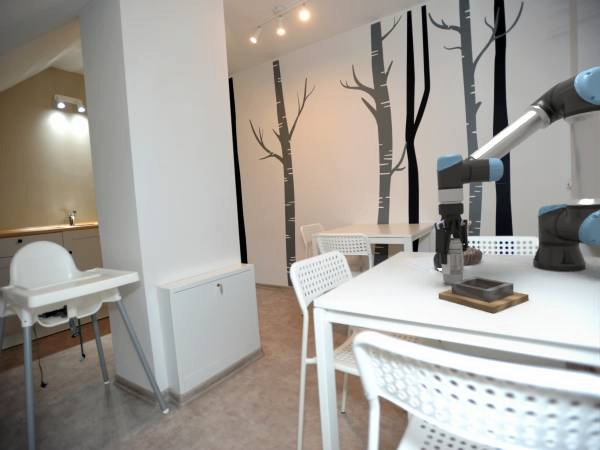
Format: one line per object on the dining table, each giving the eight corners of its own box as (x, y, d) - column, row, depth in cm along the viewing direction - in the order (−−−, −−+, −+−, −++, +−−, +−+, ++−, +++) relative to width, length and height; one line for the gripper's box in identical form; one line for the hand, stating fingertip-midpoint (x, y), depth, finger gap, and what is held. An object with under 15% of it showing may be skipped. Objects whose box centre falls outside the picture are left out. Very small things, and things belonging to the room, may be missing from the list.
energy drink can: (464, 281, 109) (463, 237, 108) (462, 286, 104) (460, 240, 103) (444, 280, 112) (443, 237, 111) (442, 285, 107) (440, 240, 106)
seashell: (463, 252, 146) (472, 234, 140) (482, 265, 140) (492, 247, 133) (443, 263, 139) (451, 245, 133) (461, 277, 133) (471, 259, 127)
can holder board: (473, 287, 102) (472, 273, 102) (528, 300, 88) (528, 283, 88) (438, 298, 95) (438, 283, 94) (493, 313, 81) (492, 295, 80)
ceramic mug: (464, 270, 124) (463, 251, 123) (445, 273, 122) (444, 253, 121) (445, 266, 134) (445, 247, 133) (428, 268, 132) (427, 249, 132)
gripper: (459, 201, 114) (461, 265, 116) (421, 204, 105) (423, 275, 107) (479, 200, 107) (481, 269, 109) (440, 204, 98) (443, 279, 100)
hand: (452, 271), depth 108 cm, fingers closed on energy drink can, 6 cm apart
